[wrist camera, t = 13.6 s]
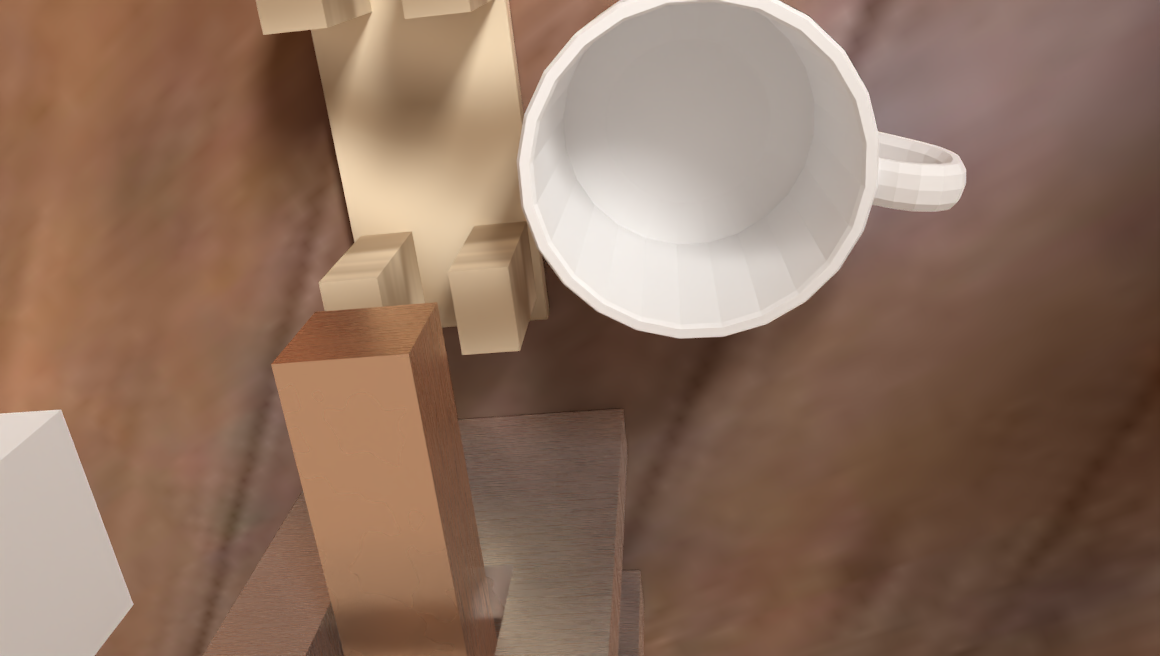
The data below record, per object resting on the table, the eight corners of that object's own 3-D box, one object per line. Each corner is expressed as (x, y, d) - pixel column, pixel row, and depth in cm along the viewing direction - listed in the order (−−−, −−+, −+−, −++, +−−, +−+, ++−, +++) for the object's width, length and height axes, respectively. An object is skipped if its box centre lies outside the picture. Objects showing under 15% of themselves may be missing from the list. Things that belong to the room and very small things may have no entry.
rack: (284, -137, 34) (212, -146, 28) (487, -163, 33) (453, -178, 28) (378, 325, 40) (334, 390, 35) (549, 311, 39) (532, 376, 34)
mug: (538, 248, 39) (510, 328, 31) (549, -42, 34) (520, -29, 27) (888, 273, 38) (946, 361, 31) (942, -18, 34) (1023, 1, 26)
